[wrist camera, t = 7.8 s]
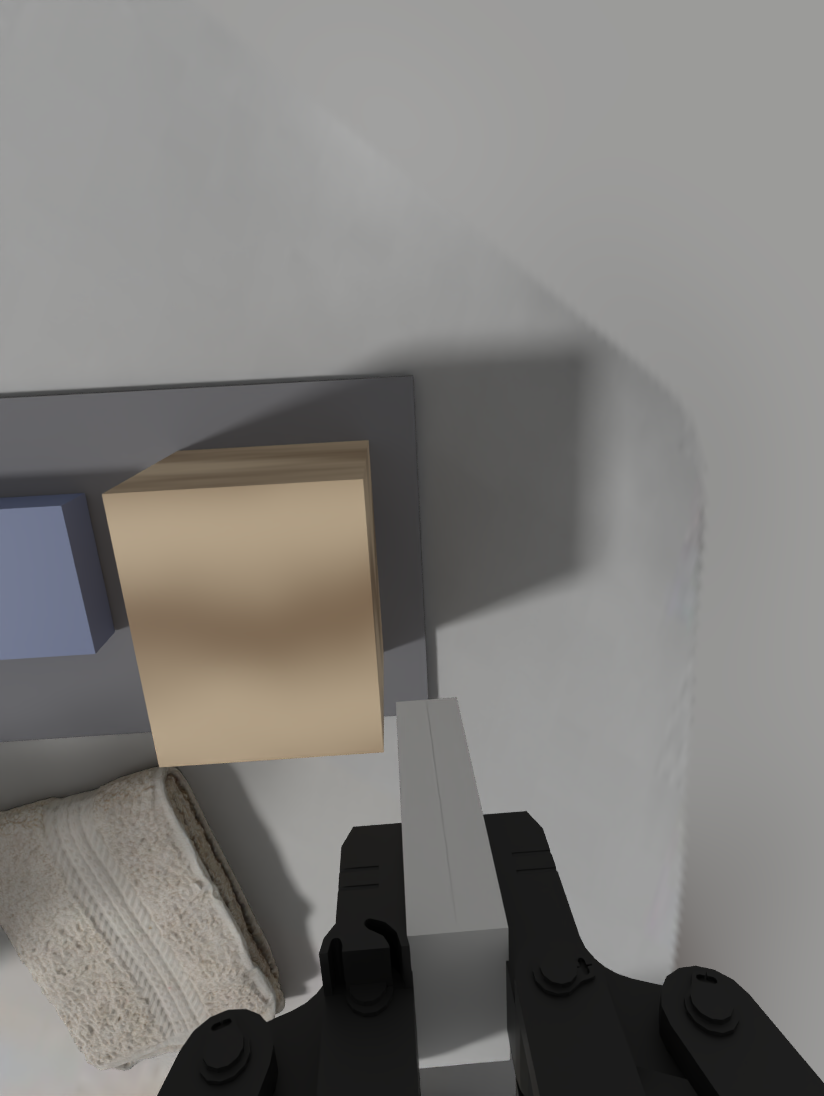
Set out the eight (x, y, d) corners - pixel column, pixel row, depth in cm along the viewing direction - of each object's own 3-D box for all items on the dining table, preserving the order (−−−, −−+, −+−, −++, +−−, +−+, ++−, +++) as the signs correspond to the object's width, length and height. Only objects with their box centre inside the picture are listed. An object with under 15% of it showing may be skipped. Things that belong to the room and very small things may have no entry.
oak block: (383, 648, 31) (383, 752, 23) (215, 659, 30) (159, 767, 23) (368, 438, 27) (363, 479, 20) (180, 449, 27) (101, 494, 20)
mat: (428, 708, 32) (428, 713, 31) (-64, 741, 31) (-69, 746, 31) (412, 375, 27) (412, 376, 26) (-177, 407, 26) (-185, 408, 26)
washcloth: (116, 1039, 39) (94, 1097, 36) (-38, 810, 33) (-79, 857, 30) (301, 989, 38) (294, 1044, 35) (177, 747, 32) (156, 788, 30)
